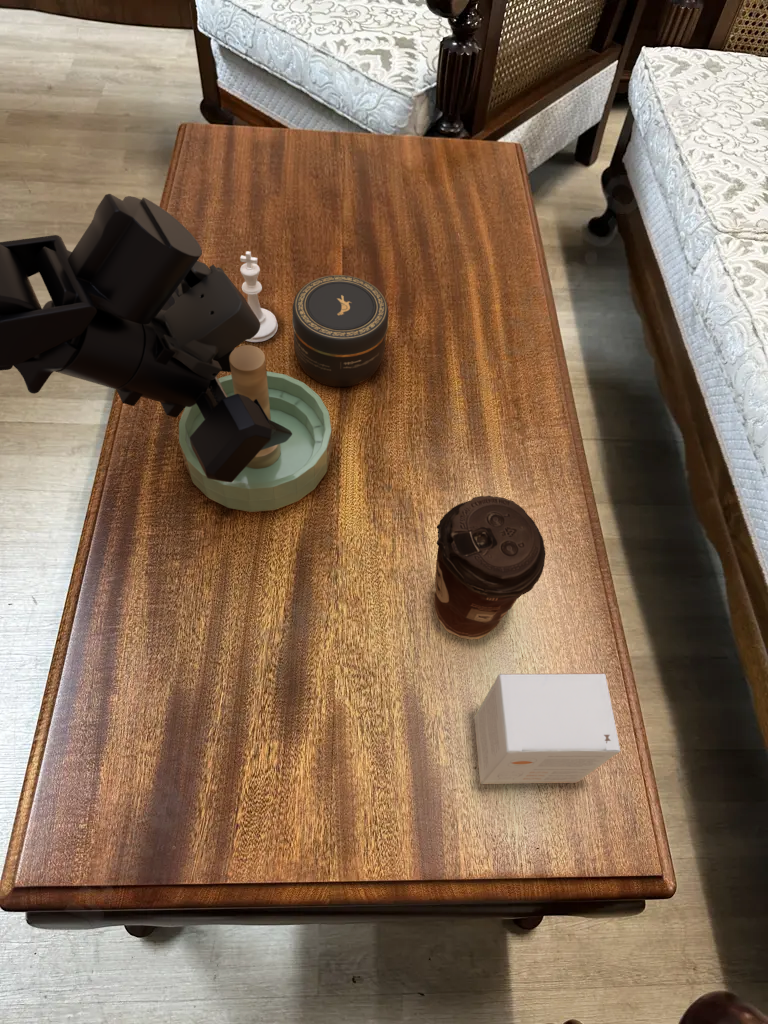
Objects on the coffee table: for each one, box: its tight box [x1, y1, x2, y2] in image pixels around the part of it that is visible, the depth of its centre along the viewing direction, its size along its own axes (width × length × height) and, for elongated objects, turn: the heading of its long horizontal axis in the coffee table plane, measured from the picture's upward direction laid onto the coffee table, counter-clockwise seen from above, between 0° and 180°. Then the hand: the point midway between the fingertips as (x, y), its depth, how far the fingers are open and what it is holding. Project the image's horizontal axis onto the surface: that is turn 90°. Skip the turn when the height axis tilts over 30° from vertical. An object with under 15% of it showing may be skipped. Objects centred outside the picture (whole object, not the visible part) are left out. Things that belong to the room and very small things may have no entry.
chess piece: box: [239, 250, 279, 343], centre depth 77 cm, size 5×5×10 cm
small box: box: [473, 672, 621, 785], centre depth 54 cm, size 8×6×10 cm
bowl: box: [178, 370, 332, 513], centre depth 70 cm, size 14×14×4 cm
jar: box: [291, 274, 389, 388], centre depth 77 cm, size 10×10×8 cm
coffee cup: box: [433, 495, 546, 640], centre depth 59 cm, size 9×8×13 cm
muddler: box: [229, 344, 281, 469], centre depth 66 cm, size 4×4×13 cm
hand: (267, 400), depth 66 cm, fingers open, 9 cm apart
